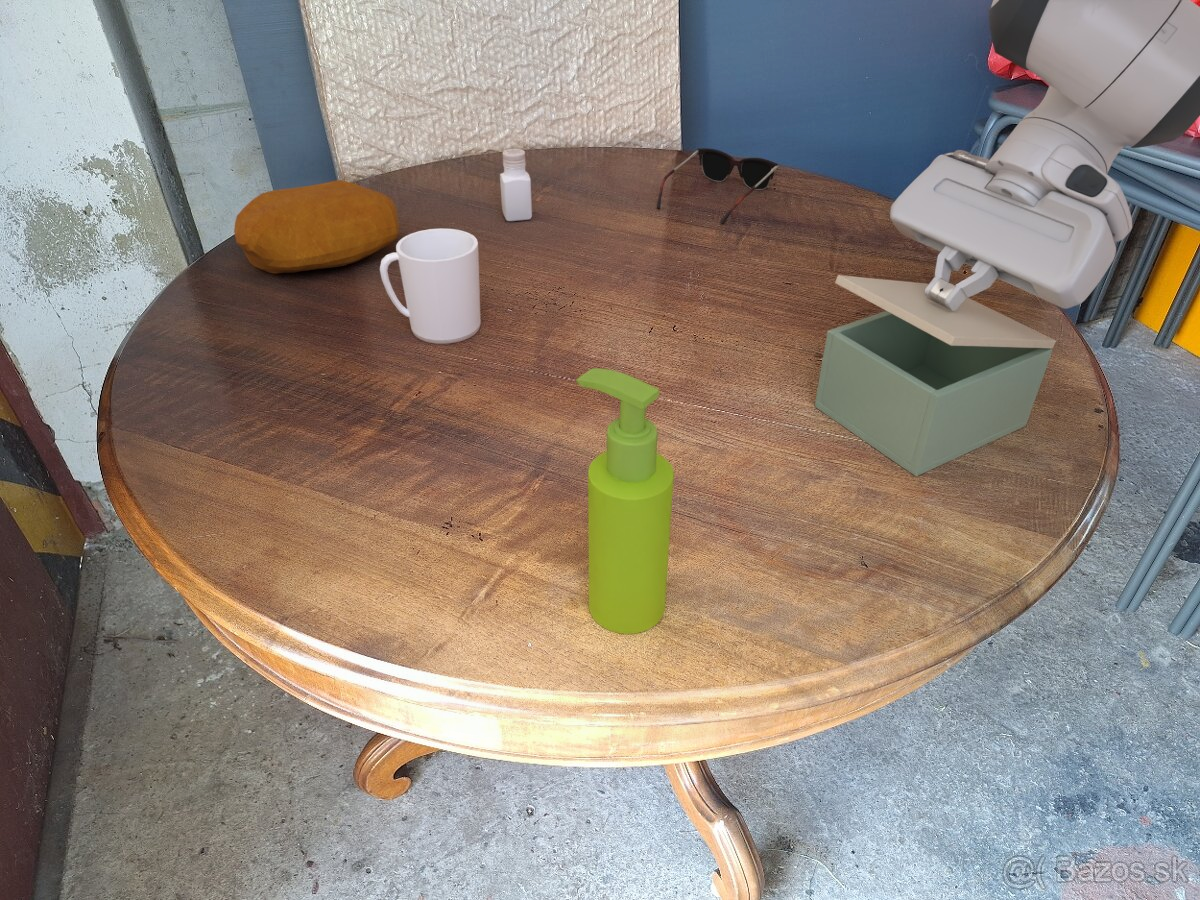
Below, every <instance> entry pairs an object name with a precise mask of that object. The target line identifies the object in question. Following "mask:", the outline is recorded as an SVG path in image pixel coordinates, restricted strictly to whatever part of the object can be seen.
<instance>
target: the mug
mask: <svg viewBox="0 0 1200 900" xmlns="http://www.w3.org/2000/svg"><path fill="white" fill-rule="evenodd" d="M395 251H396V252H390V253H388V254H386V255H385V256H384V257H382V258H381V261H380V266H379V273H380V278H381V281H382V284H383V286H384V289H385V292H386V294H387V296H388V297H389V299H390V300H391V302H392V304H393V305H394V306H395V308H396V309H397V310H398V312H399V313H401V314H402V315H403V316H404V317H406V318H408V319H409V324H410V329H411V332H412V333H413V335H414V337H416V338H417V339H419V340H421V341H422V342H425V343H428V344H429V343H430V344H434V345H448V344H455V343H460V342H463V341H465V340H468V339H470V338H472V337H474V336H475V335H476V334H477V333H478V332H479V330H480V328H481V325H482V322H481V319H482V318H481V291H480V289H481V288H480V264H479V263H480V262H479V261H480V259H479V258H480V257H479V242H478V239H477V238H476V236H475V235H473V234H472V233H469V231H464V230H460V229H456V228H442V227H441V228H429V229H425V230H424V229H423V230H418V231H416V232H415V231H414V232H412V233H409V234H407V235H405V236H403V237H402V238H401V239H400V240H398V242H397V243H396V245H395ZM395 261H397V262H398V268H399V273H400V278H401V282H402V288H403V293H404V299H405V303H406V307H405V306H404V305H403V304H402V303H401V301H400V300H399V299H398V297H397V295H396V293H395V290H394V289H393V285H392V284H391V280H390V277H389V273H388V269H389V266H390V265H391V263H393V262H395Z"/></svg>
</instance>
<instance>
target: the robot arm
mask: <svg viewBox="0 0 1200 900" xmlns="http://www.w3.org/2000/svg"><path fill="white" fill-rule="evenodd" d="M988 25H989V26H988V27H989V32H990V33H989V34H990V37H991V42H992V46H993V50H994V53H995V54H997V55H999V56H1000V57H1002V58H1004V59H1006V60H1007V61H1009V62H1011V63H1013V64H1014V65H1016V66H1017V67H1020V68H1021V69H1022V70H1024V71H1026V72H1027V71H1030V72H1031V73H1032V74H1034V75H1035V76H1036V77H1038V78H1039V79H1041V80H1042V81H1044V83H1046V84H1048V89H1047V90H1046V93H1045V95H1044V97H1043V99H1042V100H1041V102H1040V103H1039V104H1038V105H1037V106H1036V107H1035V108H1034V109H1033V110H1031V111H1030V112H1029V113H1027V114H1026V115H1025V116H1024V117H1023V118H1022V119H1021V120H1020V121H1019V122H1018V124H1016V126H1015V127H1014V129H1013V130H1012V131H1011V132H1010V134H1009V135H1008V136H1007V138H1005V140H1004V141H1003V142H1002V144H1001V145H1000V146H999V147H998V148H997V150H996V151H995V152H994V154H993V155H992V156H991V157H990V159H989V158H986V157H983V156H978V155H974V154H971V153H970V152H969V151H966V150H962V149H956V150H955V151H951V152H947V153H944V154H939V155H938V156H936V157H935V158H934V159H933V160H932V161H931V163H930V165H929V166H928V167H926V168H925V169H924V170H923V171H922V172H921V173H920V174H919V175H918V176H917V177H916V178H915V179H913V181H912V182H911V183H910V184H908V186H907V187H906V188H905V189H904V190H903V191H902V192H901V194H900V195H899V196H898V197H897V198H896V199H895V200H894V202H893V203H892V204H891V206H890V209H889V210H890V211H889V219H890V221H891V222H892V224H893V226H894V227H895V229H896V230H897V231H898V232H899V234H901V235H902V236H904V237H906V238H909V239H911V240H912V241H915V242H917V243H919V244H921V245H924V246H925V247H928V248H930V249H932V250H935V251H937V252H939V253H938V254H937V258H936V263H935V270H934V276H933V278H932V280H931V281H930V282H929V283H928V284H929V285H928V286H927V287H926V289H925V291H924V294H925V295H926V297H927V298H928V299H929V300H931V301H933V302H935V303H937V304H939V305H942V306H944V307H945V308H947V309H949V310H951V311H956V310H957V308H958V307H959V306H960V305H961V304H962V302H963V301H964V300H965V299H966V298H971V297H972V296H975V295H977V294H979V293H981V292H983V291H985V290H988V289H990V288H991V287H992V285H993V284H994V283H995V281H996V280H997V279H998V280H1000V281H1002V282H1004V283H1006V284H1009V285H1011V286H1013V287H1015V288H1017V289H1019V290H1022V291H1024V292H1026V293H1028V294H1030V295H1033V296H1035V297H1037V298H1040V299H1042V300H1044V301H1045V302H1047V303H1050V304H1053V305H1055V306H1056V307H1059V308H1061V309H1064V310H1065V309H1066V310H1067V309H1071V308H1073V307H1076V306H1079V305H1081V304H1082V303H1083V302H1085V301H1086V300H1087V298H1088V297H1089V296H1090V295H1091V294H1092V292H1093V291H1094V290H1095V288H1097V286H1098V284H1099V283H1100V282H1101V281H1102V279H1103V278H1104V276H1105V274H1106V273H1107V272H1108V270H1109V268H1110V266H1111V265H1112V263H1113V262H1114V259H1115V257H1116V253H1117V245H1116V243H1118V242H1121V241H1122V240H1124V239H1125V238H1126V237H1127V236H1128V235H1129V233H1130V232H1131V231H1132V229H1133V219H1132V214H1131V210H1130V207H1129V203H1128V201H1127V198H1126V196H1125V194H1124V192H1123V190H1122V187H1121V185H1120V184H1119V183H1118V182H1117V180H1115V179H1114V178H1112V177H1111V176H1110V175H1108V173H1109V171H1110V169H1111V167H1112V165H1113V163H1114V160H1115V159H1116V157H1117V156H1118V154H1119V153H1120V152H1121V151H1122V150H1123V149H1124V148H1125V147H1130V148H1131V149H1137V148H1145V147H1146V148H1147V147H1150V146H1155V145H1160V144H1167V143H1170V142H1173V141H1176V140H1177V139H1179V138H1180V137H1181V136H1183V135H1184V134H1185V133H1186V132H1187V131H1188V130H1189V129H1190V128H1191V127H1192V126H1193V125H1194V123H1196V121H1197V120H1199V118H1200V6H1199V5H1198V4H1196V3H1195V2H1193V1H1192V0H992V3H991V5H990V7H989V8H988ZM964 264H965V265H967V266H970V267H972V268H971V269H970V271H971V273H972V274H971V275H970V276H968V277H966V278H964V279H962V280H960V282H958V283H956V284H953V283H951V282H950V280H951V279H950V278H951V273H952V271H953V272H958V271H959V270H960V269H961V268H962V267H963V265H964Z"/></svg>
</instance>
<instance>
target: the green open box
mask: <svg viewBox="0 0 1200 900" xmlns="http://www.w3.org/2000/svg"><path fill="white" fill-rule="evenodd" d="M824 344H825V345H824V349H823V354H822V360H821V366H820V370H819V371H820V372H819V378H818V383H817V387H816V388H817V389H816V394H815V402H814V408H816V410H817V409H818V410H819V411H820V412H822V413H823V414H824V415H826V416H827V417H829V418H830V419H832V420H833V421H835V422H836V423H838V424H839V425H840V426H842V427H843V428H845V429H846V430H848V431H849V432H851V433H852V434H853V435H855V436H857V437H858V438H859V439H860V440H862V441H863V442H865V443H866V444H868V445H869V446H871V447H873V448H874V449H875V450H876V451H878V452H880V453H881V454H882V455H884V456H885V457H887V458H888V459H890V460H892V461H893V462H894V463H895V464H897V465H898V466H900V467H901V468H903V469H904V470H906V471H907V472H908V473H910V474H911V475H913V476H914V477H918V476H920V475H922V474H925V473H927V472H929V471H931V470H933V469H935V468H938V467H941V466H942V465H945V464H946V463H949V462H950V461H953V460H955V459H958V458H960V457H961V456H962V457H963V456H964V455H966V454H968V453H970V452H973V451H975V450H977V449H980V448H982V447H984V446H987V445H988V444H990V443H993V442H994V441H996V440H998V439H1001V438H1003V437H1005V436H1008V435H1009V434H1012V433H1014V432H1016V431H1018V430H1020V429H1022V428H1024V427H1027V424H1028V422H1029V418H1030V416H1031V413H1032V410H1033V407H1034V404H1035V402H1036V399H1037V396H1038V394H1039V390H1040V387H1041V384H1042V382H1043V380H1044V379H1043V378H1044V376H1045V373H1046V370H1047V367H1048V365H1049V361H1050V359H1051V356H1052V354H1053V351H1054V350H1053V349H1054V348H1021V347H985V346H951V345H949V344H947V343H945V342H943V341H941V340H939V339H938V338H936V337H934V336H932V335H930V334H928V333H926V332H925V331H923V330H921V329H919V328H917V327H915V326H914V325H912V324H910V323H908V322H906V321H904V320H902V319H901V318H899V317H897V316H895V315H893V314H891V313H890V312H888V311H886V310H884V311H881V312H879V313H875V314H873V315H870V316H867V317H864V318H861V319H858V320H855V321H852V322H850V323H847V324H844V325H840V326H838V327H835V328H832V329H829V330H827V331H826V338H825V343H824Z"/></svg>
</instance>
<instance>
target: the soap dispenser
mask: <svg viewBox="0 0 1200 900" xmlns="http://www.w3.org/2000/svg"><path fill="white" fill-rule="evenodd" d="M575 381H576V383H577V384H578V385H579V387H582V388H587V389H592V390H596V391H598V392H602V393H604V394H607V395H608V396H612V397H614V398H615V399H617V400H619V418H615V419H614V420H613V421H611V422H610V423H609V424H608V426H607V428H606V451H603V452H602V453H600V454H598V455H597V456H596V457H595V458H594V459H593V460H592V461H591V463H590V464H589V467H588V471H587V472H588V473H587V494H588V495H587V499H588V500H587V506H588V507H587V508H588V509H587V511H588V512H587V513H588V514H587V515H588V517H587V518H588V519H587V520H588V521H587V523H588V527H587V528H588V609H589V613H590V615H591V617H592V619H593V620H594V621H595V622H596V623H597V624H598V625H599V626H601V627H602V628H604V629H605V630H608V631H610V632H613V633H616V634H621V635H622V634H623V635H632V634H639V633H643V632H646V631H648V630H650V629H652V628H653V627H655V626H656V625H657V624H658V623H659V622H660V621H661V620H662V618H663V617H664V615H665V611H666V598H667V584H668V583H667V582H668V571H669V570H668V569H669V568H668V567H669V553H670V537H671V526H672V525H671V522H672V509H673V508H672V507H673V496H674V495H673V493H674V477H675V472H674V468H673V466H672V464H671V463H670V461H669V460H668V459H667V458H665V456H663V455H661V454H660V453H658V452H657V451H658V434H659V433H658V428H657V426H656V424H655V423H653V421H651V420H649V418H647V417H646V415H647V407H648V406H649V405H651V404H652V403H654V402H655V401H656V400H657V399H658V398H659V397H660V389H659V388H657V387H655V386H653V385H651V384H649V383H647V382H645V381H644V380H643V381H642V380H641V379H639V378H636V377H634V376H631V375H629V374H627V373H623V372H620V371H618V370H617V371H616V370H614V369H613V370H612V369H607V368H600V367H592V368H590V369H589V370H587V371H586V372H585V373H583V374H581V376H579V377H577V378H576V379H575Z"/></svg>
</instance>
